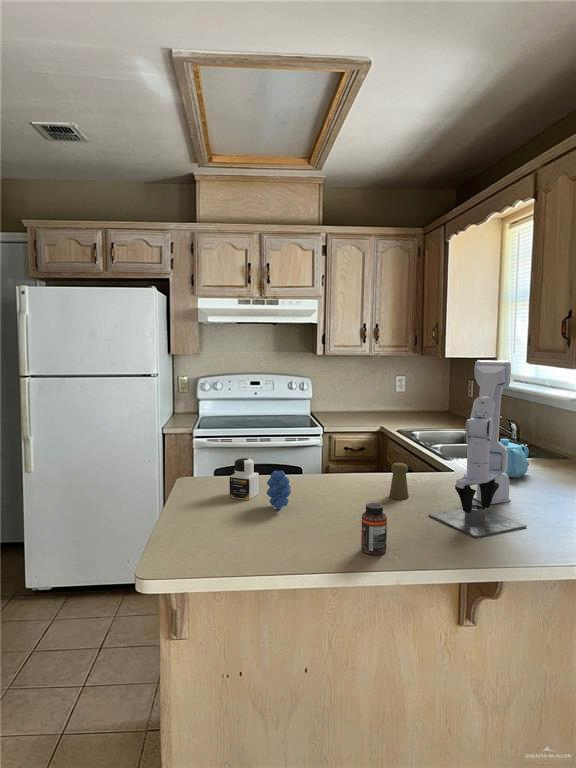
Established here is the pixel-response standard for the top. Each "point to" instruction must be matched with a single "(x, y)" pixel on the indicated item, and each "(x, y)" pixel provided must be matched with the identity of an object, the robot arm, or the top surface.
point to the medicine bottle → (244, 480)
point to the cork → (399, 482)
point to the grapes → (278, 489)
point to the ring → (476, 514)
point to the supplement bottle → (374, 530)
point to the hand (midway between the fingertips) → (476, 509)
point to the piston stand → (488, 527)
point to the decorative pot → (515, 459)
